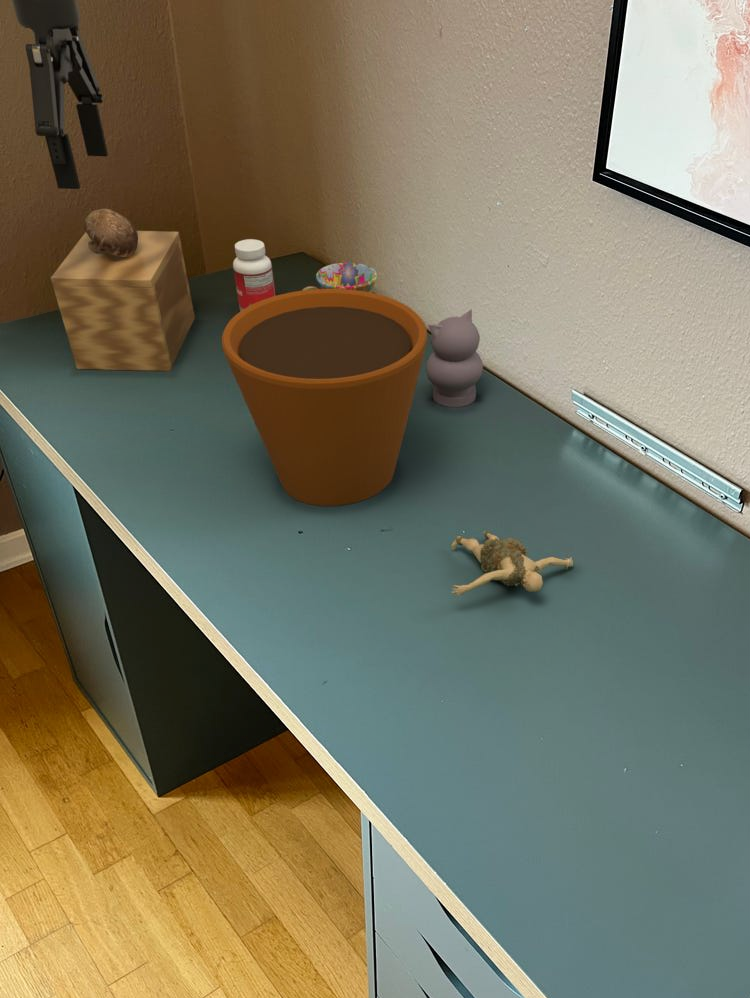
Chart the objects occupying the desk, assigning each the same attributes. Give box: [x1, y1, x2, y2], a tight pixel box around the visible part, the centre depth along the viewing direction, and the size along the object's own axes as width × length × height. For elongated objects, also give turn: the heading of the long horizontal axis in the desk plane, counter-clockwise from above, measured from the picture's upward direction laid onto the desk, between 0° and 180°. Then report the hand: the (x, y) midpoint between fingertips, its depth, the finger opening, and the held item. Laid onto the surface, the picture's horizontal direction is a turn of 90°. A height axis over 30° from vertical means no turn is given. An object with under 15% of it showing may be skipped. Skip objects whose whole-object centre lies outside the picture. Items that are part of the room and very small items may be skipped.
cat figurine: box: [425, 309, 484, 408], centre depth 136 cm, size 8×8×12 cm
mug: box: [301, 262, 378, 293], centre depth 149 cm, size 12×9×11 cm
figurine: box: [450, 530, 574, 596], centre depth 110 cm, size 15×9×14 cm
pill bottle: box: [232, 238, 276, 312], centre depth 155 cm, size 6×6×11 cm
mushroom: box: [84, 208, 138, 257], centre depth 139 cm, size 8×8×6 cm
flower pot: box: [221, 288, 428, 507], centre depth 118 cm, size 24×24×20 cm
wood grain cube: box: [50, 230, 196, 372], centre depth 145 cm, size 14×18×14 cm
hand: (84, 171), depth 132 cm, fingers open, 13 cm apart
